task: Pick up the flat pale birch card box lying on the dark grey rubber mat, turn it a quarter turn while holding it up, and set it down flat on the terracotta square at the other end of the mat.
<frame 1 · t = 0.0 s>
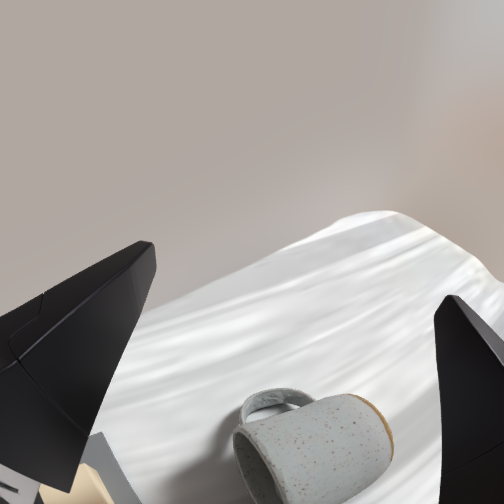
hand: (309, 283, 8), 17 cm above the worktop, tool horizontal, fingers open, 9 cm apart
ceramic mug: (286, 457, 18), on the worktop
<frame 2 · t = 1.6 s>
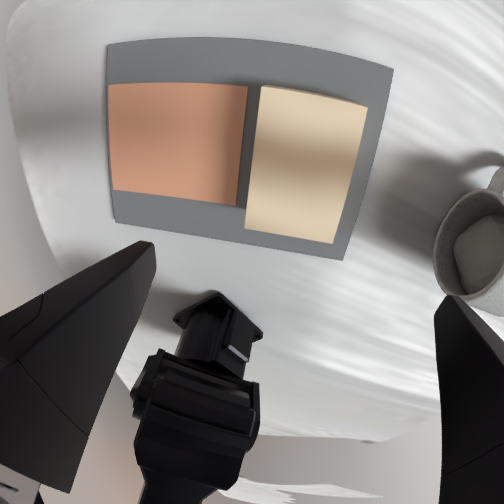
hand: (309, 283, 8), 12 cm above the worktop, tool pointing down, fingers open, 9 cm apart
ceramic mug: (481, 217, 18), on the worktop
card box: (301, 158, 17), resting on mat
mat: (230, 145, 18), on the worktop
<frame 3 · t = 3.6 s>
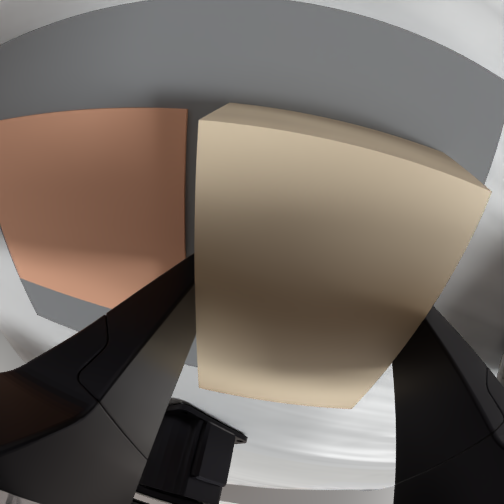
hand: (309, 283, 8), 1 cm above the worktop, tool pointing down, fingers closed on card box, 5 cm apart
card box: (309, 265, 9), resting on mat, touching gripper
mat: (167, 232, 9), on the worktop
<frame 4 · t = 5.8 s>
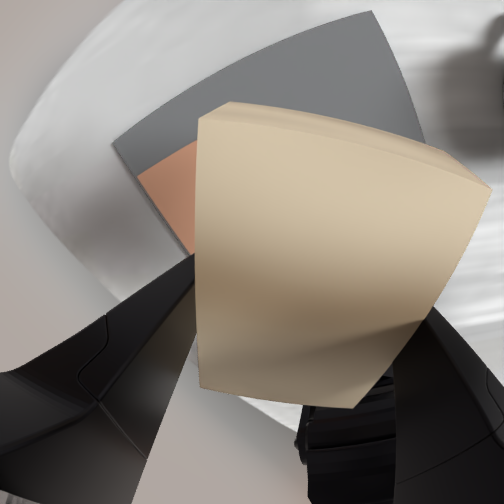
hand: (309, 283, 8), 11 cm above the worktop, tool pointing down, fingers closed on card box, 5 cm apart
card box: (310, 264, 9), point 10 cm above the worktop, touching gripper
mat: (281, 168, 18), on the worktop
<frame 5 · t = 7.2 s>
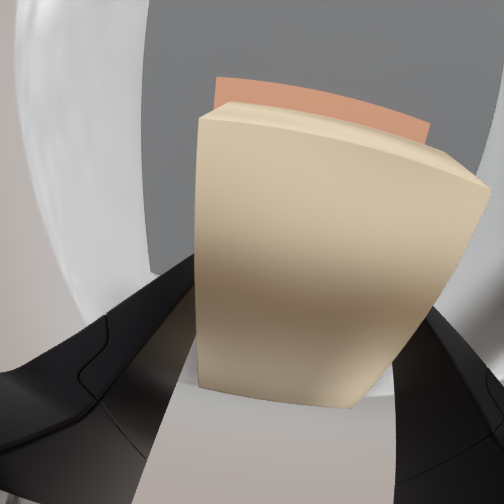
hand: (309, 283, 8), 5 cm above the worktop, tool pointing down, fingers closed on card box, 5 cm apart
card box: (309, 264, 9), point 4 cm above the worktop, touching gripper
mat: (325, 110, 10), on the worktop
when the fingers open (2 cm above the worktop, at t = 8.1 s): card box drops 1 cm, resting on mat.
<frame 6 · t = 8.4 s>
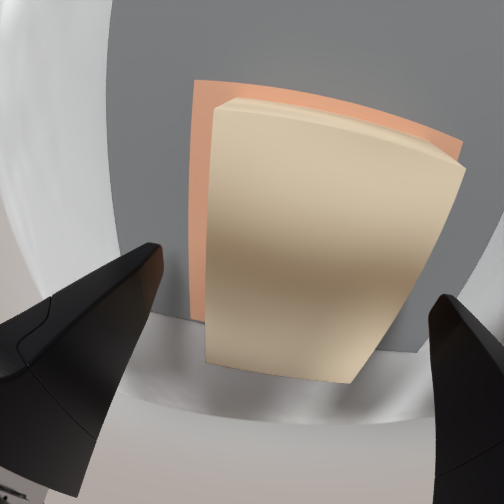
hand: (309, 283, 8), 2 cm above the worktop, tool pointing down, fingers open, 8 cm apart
card box: (308, 243, 10), resting on mat
mat: (334, 122, 8), on the worktop
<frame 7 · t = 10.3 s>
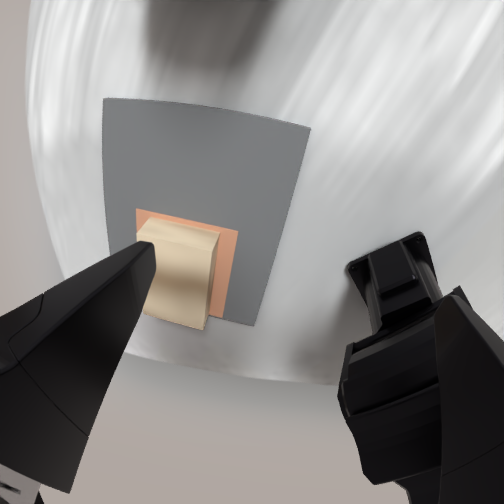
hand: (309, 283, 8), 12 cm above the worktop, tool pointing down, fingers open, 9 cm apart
card box: (181, 268, 24), resting on mat
mat: (186, 224, 22), on the worktop
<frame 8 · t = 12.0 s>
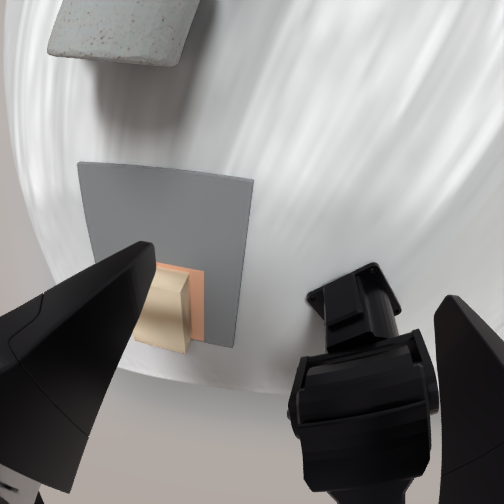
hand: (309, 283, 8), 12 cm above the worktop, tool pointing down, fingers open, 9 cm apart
ceramic mug: (143, 5, 13), on the worktop
card box: (162, 301, 27), resting on mat
mat: (161, 266, 25), on the worktop
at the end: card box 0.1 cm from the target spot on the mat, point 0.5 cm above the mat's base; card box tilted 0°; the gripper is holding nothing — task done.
